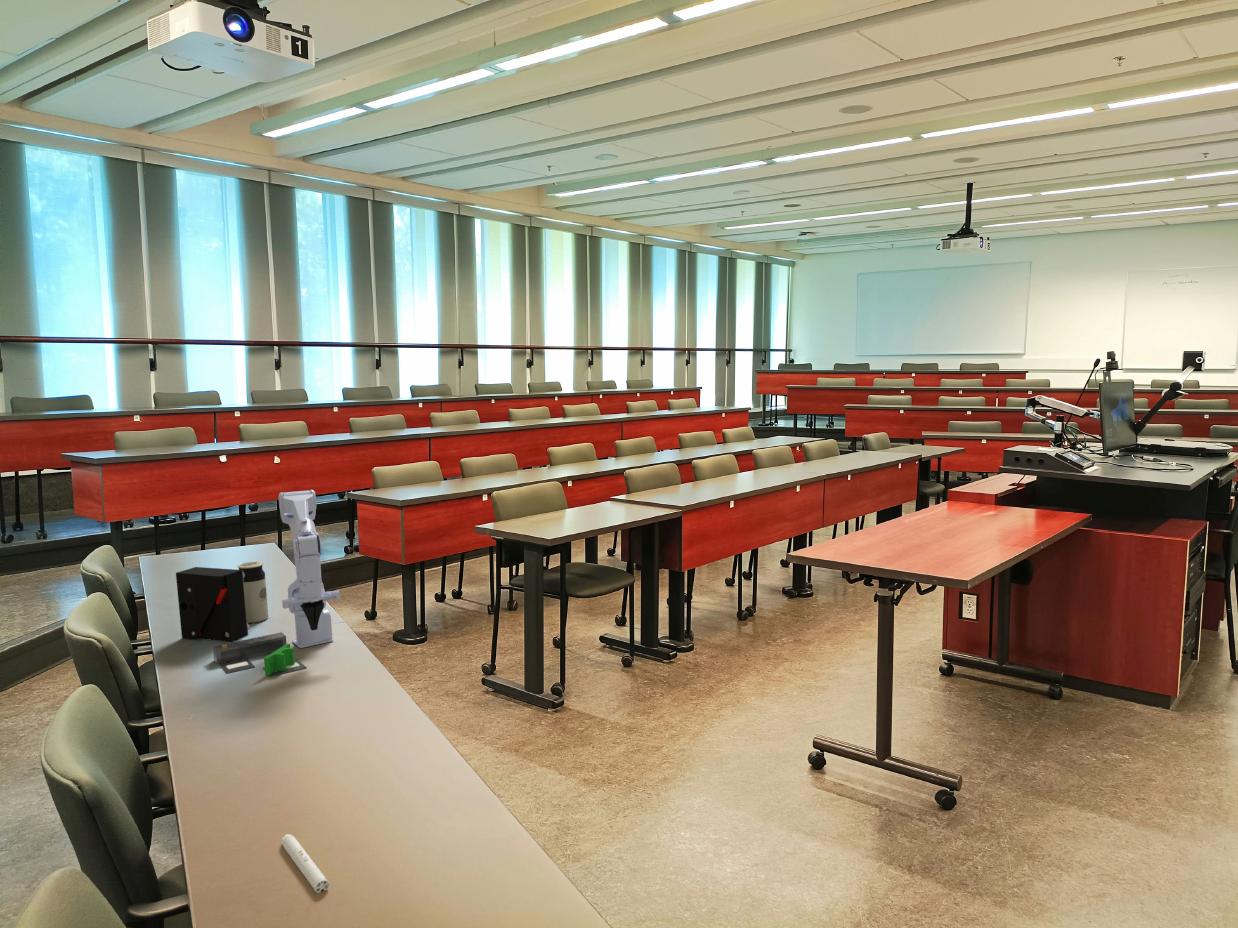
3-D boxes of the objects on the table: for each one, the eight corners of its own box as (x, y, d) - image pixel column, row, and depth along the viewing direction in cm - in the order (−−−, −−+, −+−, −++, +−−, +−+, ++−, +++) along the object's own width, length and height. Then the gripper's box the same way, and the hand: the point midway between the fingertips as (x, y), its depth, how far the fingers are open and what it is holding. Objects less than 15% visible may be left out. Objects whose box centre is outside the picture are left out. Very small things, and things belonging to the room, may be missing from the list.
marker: (278, 844, 138) (277, 830, 138) (291, 839, 139) (290, 826, 139) (315, 896, 124) (314, 881, 124) (329, 890, 125) (328, 875, 125)
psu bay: (282, 645, 238) (281, 630, 237) (287, 649, 234) (286, 634, 233) (214, 660, 227) (212, 644, 226) (217, 664, 223) (216, 649, 223)
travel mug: (235, 622, 262) (230, 566, 260) (255, 614, 269) (250, 560, 267) (254, 624, 259) (250, 567, 257) (274, 617, 266) (269, 561, 264)
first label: (247, 659, 227) (247, 658, 227) (255, 667, 221) (254, 666, 221) (220, 665, 223) (220, 664, 223) (226, 673, 217) (226, 672, 217)
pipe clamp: (278, 675, 214) (277, 658, 213) (265, 675, 214) (263, 658, 213) (300, 659, 225) (299, 643, 224) (287, 659, 225) (286, 643, 224)
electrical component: (253, 633, 250) (247, 568, 248) (227, 644, 241) (221, 576, 238) (207, 628, 256) (201, 565, 253) (180, 639, 246) (173, 573, 244)
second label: (297, 659, 225) (297, 658, 225) (306, 668, 219) (306, 666, 219) (262, 667, 220) (262, 666, 220) (270, 676, 214) (270, 675, 214)
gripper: (285, 587, 215) (289, 638, 217) (342, 577, 224) (345, 627, 225) (278, 582, 221) (282, 631, 222) (334, 573, 229) (337, 621, 231)
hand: (313, 629), depth 224 cm, fingers closed
